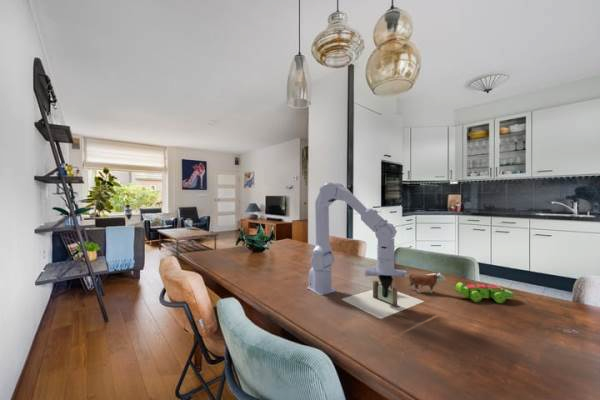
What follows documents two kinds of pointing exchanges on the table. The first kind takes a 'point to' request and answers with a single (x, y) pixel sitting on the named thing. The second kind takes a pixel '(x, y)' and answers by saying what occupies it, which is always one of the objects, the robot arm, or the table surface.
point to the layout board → (381, 303)
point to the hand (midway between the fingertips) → (384, 296)
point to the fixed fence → (375, 288)
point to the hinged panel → (391, 295)
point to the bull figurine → (425, 280)
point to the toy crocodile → (483, 292)
